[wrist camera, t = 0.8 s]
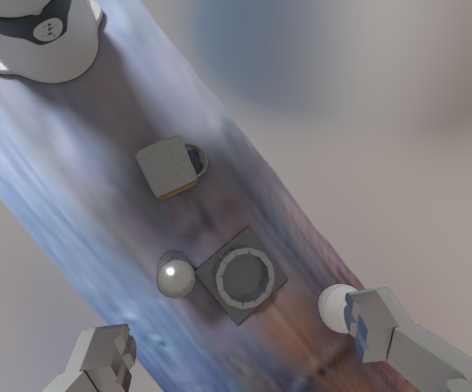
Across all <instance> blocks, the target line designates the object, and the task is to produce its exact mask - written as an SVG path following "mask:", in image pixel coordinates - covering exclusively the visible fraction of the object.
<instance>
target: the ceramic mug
mask: <svg viewBox="0 0 472 392" xmlns="http://www.w3.org/2000/svg"><path fill="white" fill-rule="evenodd" d="M186 147H191V148H193V149H195V150H196V151H197V152H198V154H199V157H200V160H201V165H202V169H201V171H200V172H199V173H198V174H197V175H196V172H195V170H194V167H193V165H192V163H191V160H190V158H189V155H188V152H187V150H186ZM135 158H136V160H137V162H138V163H139V165H140V168H141V170H142V172H143V174H144V176H145V177H146V179H147V181H148V183H149V185H150V187H151V189H152V192H153V193H154V194H155V196H156V197H157V198H158V199H160V200H164V199H166V198H168V197H171V196H173V195H175V194H178V193H180V192H182V191H184V190H186V189H189V188H191V187H193V186H195V185H196V184H197V177H199V176H201V175H202V174H203V173H204V172H205V171H206V169H207V166H208V160H207V156H206V153H205V151H204V150H203V148H202V147H200V146H199V145H197V144H195V143H190V142H185V143H184V142H183V140H182V138H181V136H174V137H171V138H167V139H164V140H161V141H158V142H156V143H154V144H152V145H149V146H147V147H145V148H143V149H141V150H140V151H138V152H137V153H136V154H135Z"/></svg>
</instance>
